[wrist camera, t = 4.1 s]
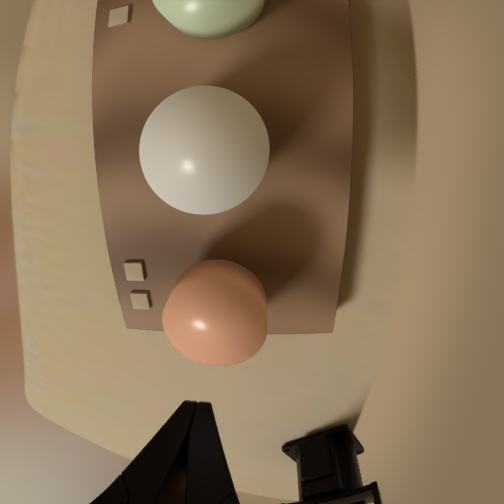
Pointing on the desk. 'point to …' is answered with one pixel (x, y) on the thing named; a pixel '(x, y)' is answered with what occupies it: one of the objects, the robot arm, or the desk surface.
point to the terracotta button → (216, 313)
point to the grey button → (204, 150)
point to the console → (278, 169)
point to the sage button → (210, 16)
